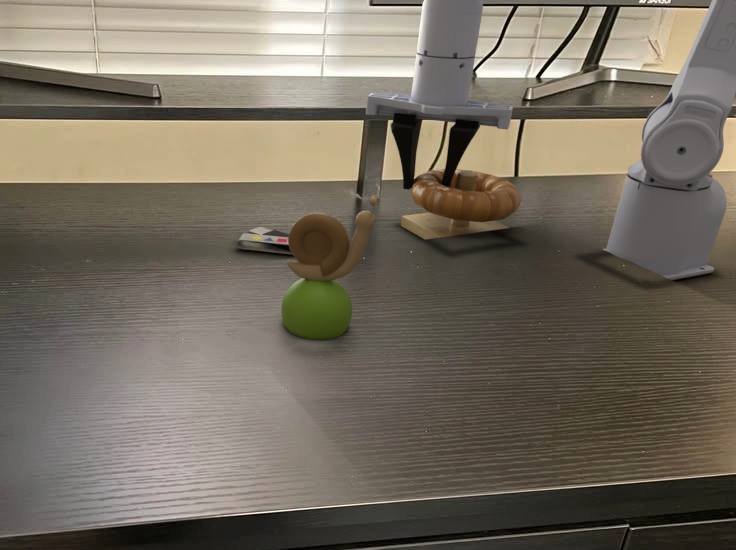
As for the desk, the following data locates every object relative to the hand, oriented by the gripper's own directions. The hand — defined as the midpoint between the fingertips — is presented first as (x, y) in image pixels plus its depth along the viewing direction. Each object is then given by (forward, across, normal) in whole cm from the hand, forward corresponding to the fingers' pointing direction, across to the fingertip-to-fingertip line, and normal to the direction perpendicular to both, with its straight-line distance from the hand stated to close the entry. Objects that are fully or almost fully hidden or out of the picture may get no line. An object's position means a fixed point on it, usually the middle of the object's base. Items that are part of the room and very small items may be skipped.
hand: (426, 189), depth 80 cm
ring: (0, +4, 0) cm, 4 cm away
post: (+4, +4, 0) cm, 6 cm away
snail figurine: (+5, -2, -30) cm, 31 cm away
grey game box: (+4, -12, -13) cm, 19 cm away
